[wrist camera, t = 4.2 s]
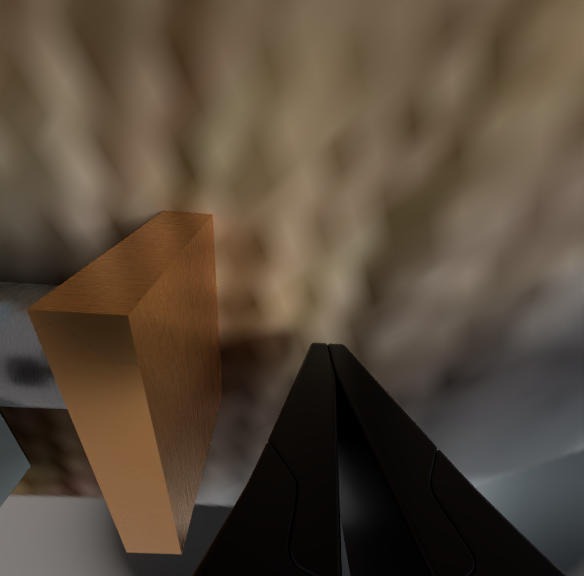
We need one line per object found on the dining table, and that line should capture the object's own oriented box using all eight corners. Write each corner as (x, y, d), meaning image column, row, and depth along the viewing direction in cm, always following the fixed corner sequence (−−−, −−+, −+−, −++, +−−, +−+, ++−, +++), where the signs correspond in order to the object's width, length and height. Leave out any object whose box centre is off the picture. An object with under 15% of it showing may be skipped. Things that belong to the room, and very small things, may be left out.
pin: (212, 213, 8) (127, 315, 4) (222, 394, 11) (181, 554, 7) (-87, 192, 7) (-517, 275, 3) (11, 383, 10) (-158, 542, 7)
